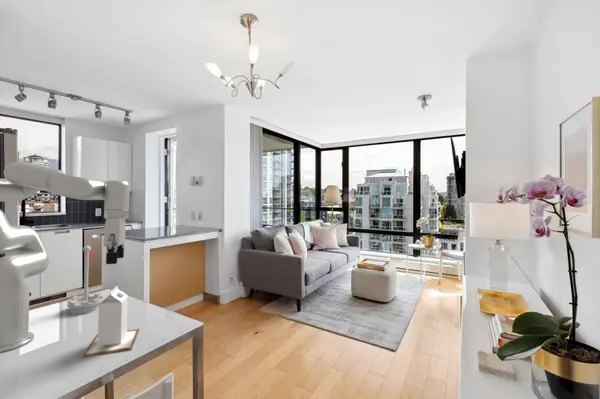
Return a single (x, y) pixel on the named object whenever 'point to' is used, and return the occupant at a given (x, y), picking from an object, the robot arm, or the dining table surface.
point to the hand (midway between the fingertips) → (115, 260)
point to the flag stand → (85, 293)
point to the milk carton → (113, 318)
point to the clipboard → (106, 349)
